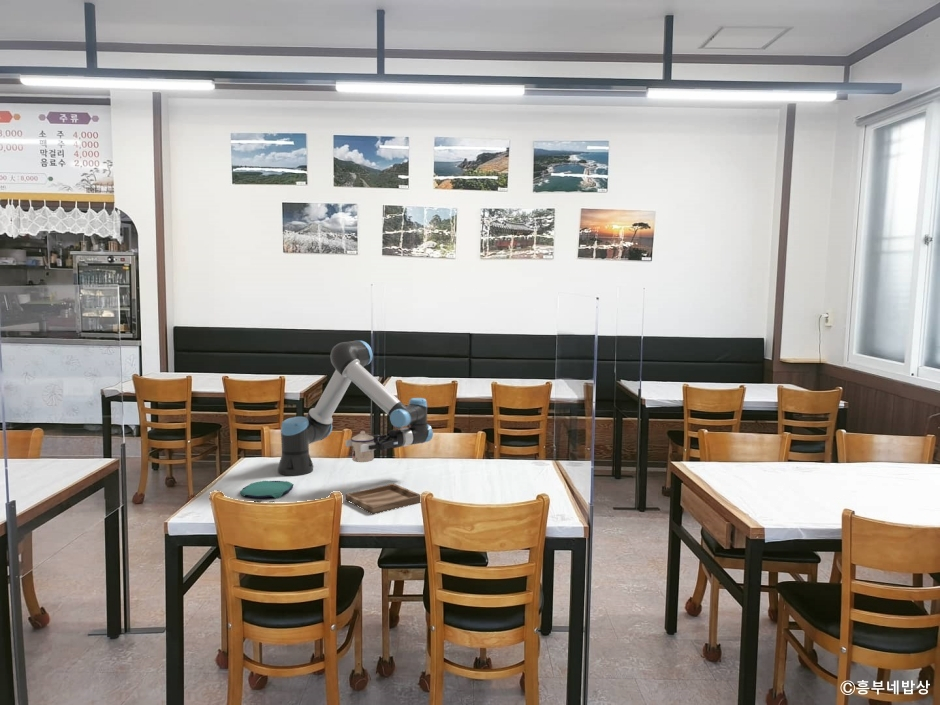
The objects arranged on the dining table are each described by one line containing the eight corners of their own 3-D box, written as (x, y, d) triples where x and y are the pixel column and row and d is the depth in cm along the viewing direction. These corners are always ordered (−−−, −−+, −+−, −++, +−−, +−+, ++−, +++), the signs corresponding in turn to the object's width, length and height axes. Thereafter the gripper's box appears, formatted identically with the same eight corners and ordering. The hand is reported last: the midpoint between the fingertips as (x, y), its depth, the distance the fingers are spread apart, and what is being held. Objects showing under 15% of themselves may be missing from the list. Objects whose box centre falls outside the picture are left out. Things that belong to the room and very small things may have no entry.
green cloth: (300, 485, 264) (300, 480, 264) (271, 511, 235) (270, 505, 234) (254, 484, 266) (254, 479, 266) (219, 509, 237) (218, 503, 236)
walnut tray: (345, 500, 245) (345, 494, 245) (393, 489, 259) (393, 483, 259) (372, 514, 230) (372, 507, 230) (422, 501, 244) (422, 495, 244)
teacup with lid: (353, 457, 263) (352, 429, 262) (375, 456, 263) (375, 428, 262) (349, 464, 251) (349, 435, 250) (372, 464, 251) (372, 435, 250)
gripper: (415, 451, 260) (368, 461, 246) (384, 441, 277) (339, 449, 263) (415, 433, 259) (368, 441, 245) (384, 424, 277) (338, 431, 262)
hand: (353, 446), depth 254 cm, fingers closed on teacup with lid, 10 cm apart
